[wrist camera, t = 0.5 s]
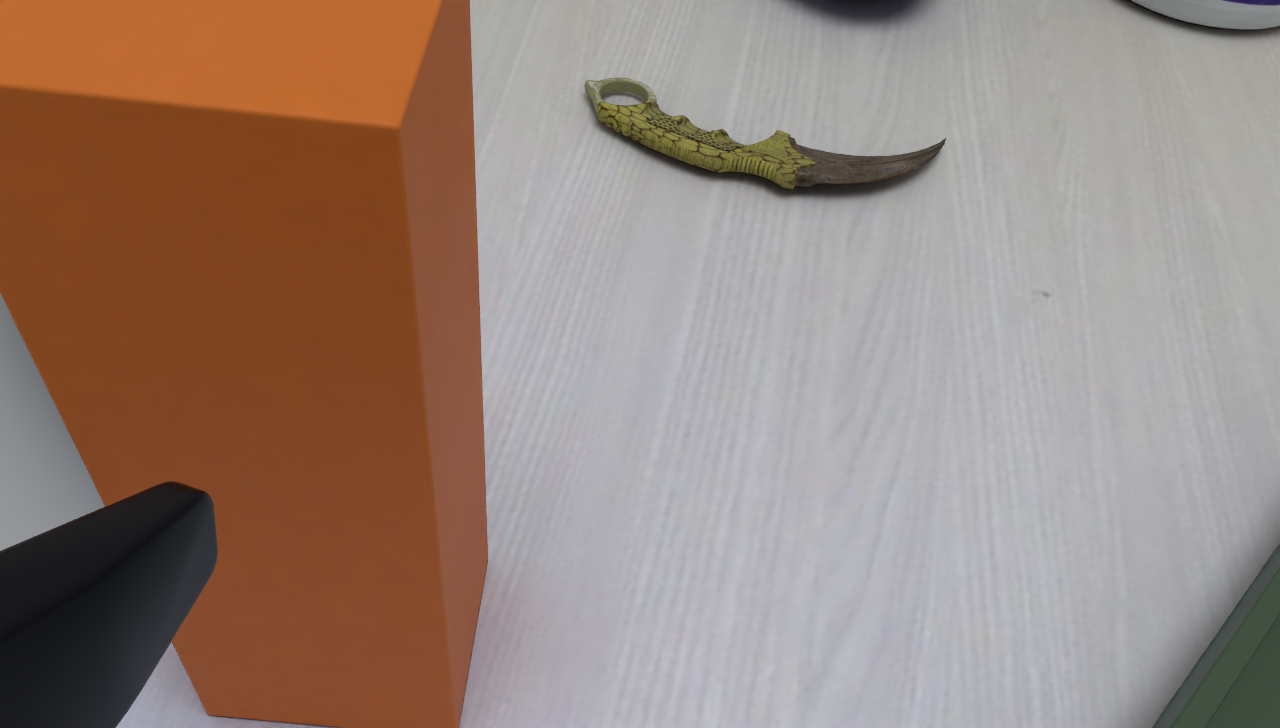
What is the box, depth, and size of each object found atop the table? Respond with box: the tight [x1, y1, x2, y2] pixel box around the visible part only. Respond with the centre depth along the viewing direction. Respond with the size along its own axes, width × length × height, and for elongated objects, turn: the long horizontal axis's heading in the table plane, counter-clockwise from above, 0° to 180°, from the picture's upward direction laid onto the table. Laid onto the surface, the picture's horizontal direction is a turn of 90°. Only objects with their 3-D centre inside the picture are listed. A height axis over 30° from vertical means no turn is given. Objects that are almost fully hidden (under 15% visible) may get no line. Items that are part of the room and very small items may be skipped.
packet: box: [0, 0, 488, 728], centre depth 21 cm, size 5×6×18 cm
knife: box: [585, 78, 946, 190], centre depth 42 cm, size 14×1×5 cm
